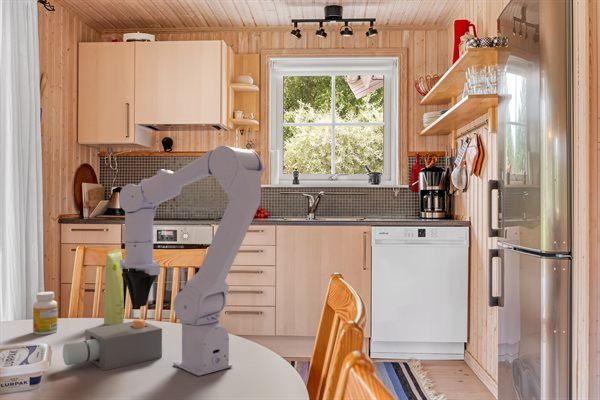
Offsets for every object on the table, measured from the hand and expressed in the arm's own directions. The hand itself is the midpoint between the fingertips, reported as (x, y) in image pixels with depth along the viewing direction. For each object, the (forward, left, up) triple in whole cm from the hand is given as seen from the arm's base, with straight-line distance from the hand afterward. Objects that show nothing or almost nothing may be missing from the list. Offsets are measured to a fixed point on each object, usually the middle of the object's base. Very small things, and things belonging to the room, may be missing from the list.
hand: (139, 305), depth 111 cm
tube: (+30, -8, -11) cm, 33 cm away
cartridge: (0, +8, -9) cm, 13 cm away
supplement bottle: (+33, +8, -11) cm, 36 cm away
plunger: (0, 0, -6) cm, 6 cm away
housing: (0, +3, -10) cm, 11 cm away
